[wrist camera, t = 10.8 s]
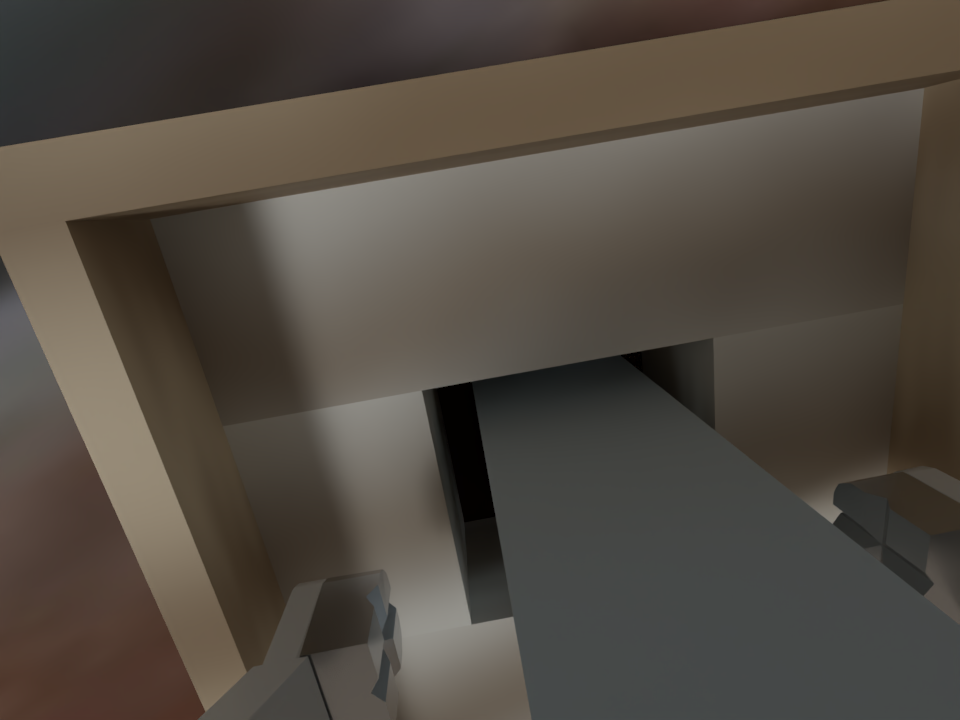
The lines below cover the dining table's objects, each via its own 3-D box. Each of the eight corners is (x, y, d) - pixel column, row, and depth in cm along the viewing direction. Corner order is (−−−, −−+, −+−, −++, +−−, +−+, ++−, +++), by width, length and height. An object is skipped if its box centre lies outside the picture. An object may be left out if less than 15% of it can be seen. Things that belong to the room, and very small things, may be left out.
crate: (187, 182, 12) (-45, 154, 6) (817, 76, 12) (1141, -41, 7) (345, 672, 17) (295, 910, 11) (797, 584, 17) (976, 772, 11)
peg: (469, 368, 14) (595, 1083, 2) (606, 344, 14) (1332, 923, 3) (490, 489, 15) (645, 1352, 4) (617, 466, 15) (1149, 1234, 4)
